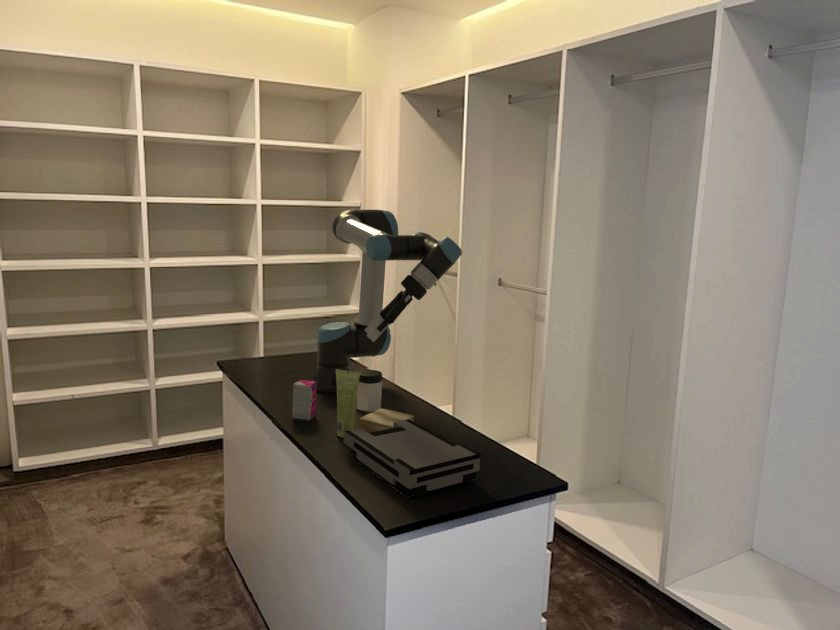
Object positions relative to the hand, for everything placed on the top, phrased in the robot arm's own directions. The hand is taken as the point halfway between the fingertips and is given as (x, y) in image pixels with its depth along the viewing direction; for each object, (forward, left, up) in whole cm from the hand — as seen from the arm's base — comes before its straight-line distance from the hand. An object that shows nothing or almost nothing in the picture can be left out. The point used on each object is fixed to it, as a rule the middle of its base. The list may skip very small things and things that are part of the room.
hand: (368, 336), depth 184 cm
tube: (+6, -3, -29) cm, 30 cm away
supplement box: (+1, -23, -29) cm, 37 cm away
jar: (-19, -12, -29) cm, 37 cm away
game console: (+16, +24, -30) cm, 41 cm away
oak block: (-5, +4, -29) cm, 30 cm away
